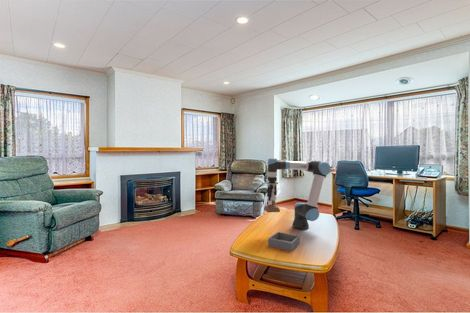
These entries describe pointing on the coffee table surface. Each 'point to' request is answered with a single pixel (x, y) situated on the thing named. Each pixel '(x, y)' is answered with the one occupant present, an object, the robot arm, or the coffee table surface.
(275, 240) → the walled bin
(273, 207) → the candle holder
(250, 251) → the coffee table surface
